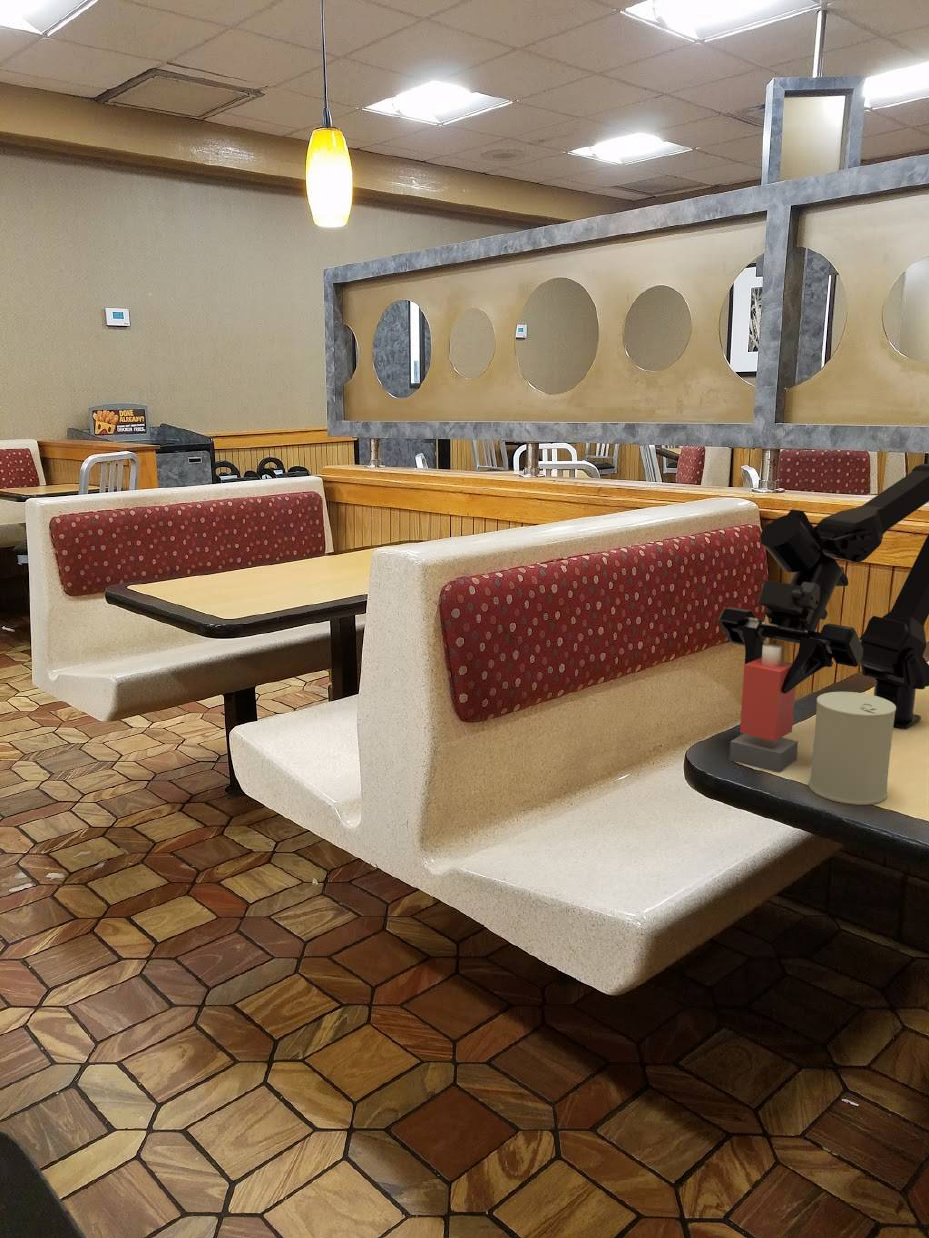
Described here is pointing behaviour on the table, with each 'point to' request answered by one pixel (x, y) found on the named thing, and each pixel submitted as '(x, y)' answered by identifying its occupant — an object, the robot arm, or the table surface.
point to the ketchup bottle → (767, 696)
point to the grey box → (763, 752)
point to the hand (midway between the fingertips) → (764, 687)
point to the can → (852, 747)
